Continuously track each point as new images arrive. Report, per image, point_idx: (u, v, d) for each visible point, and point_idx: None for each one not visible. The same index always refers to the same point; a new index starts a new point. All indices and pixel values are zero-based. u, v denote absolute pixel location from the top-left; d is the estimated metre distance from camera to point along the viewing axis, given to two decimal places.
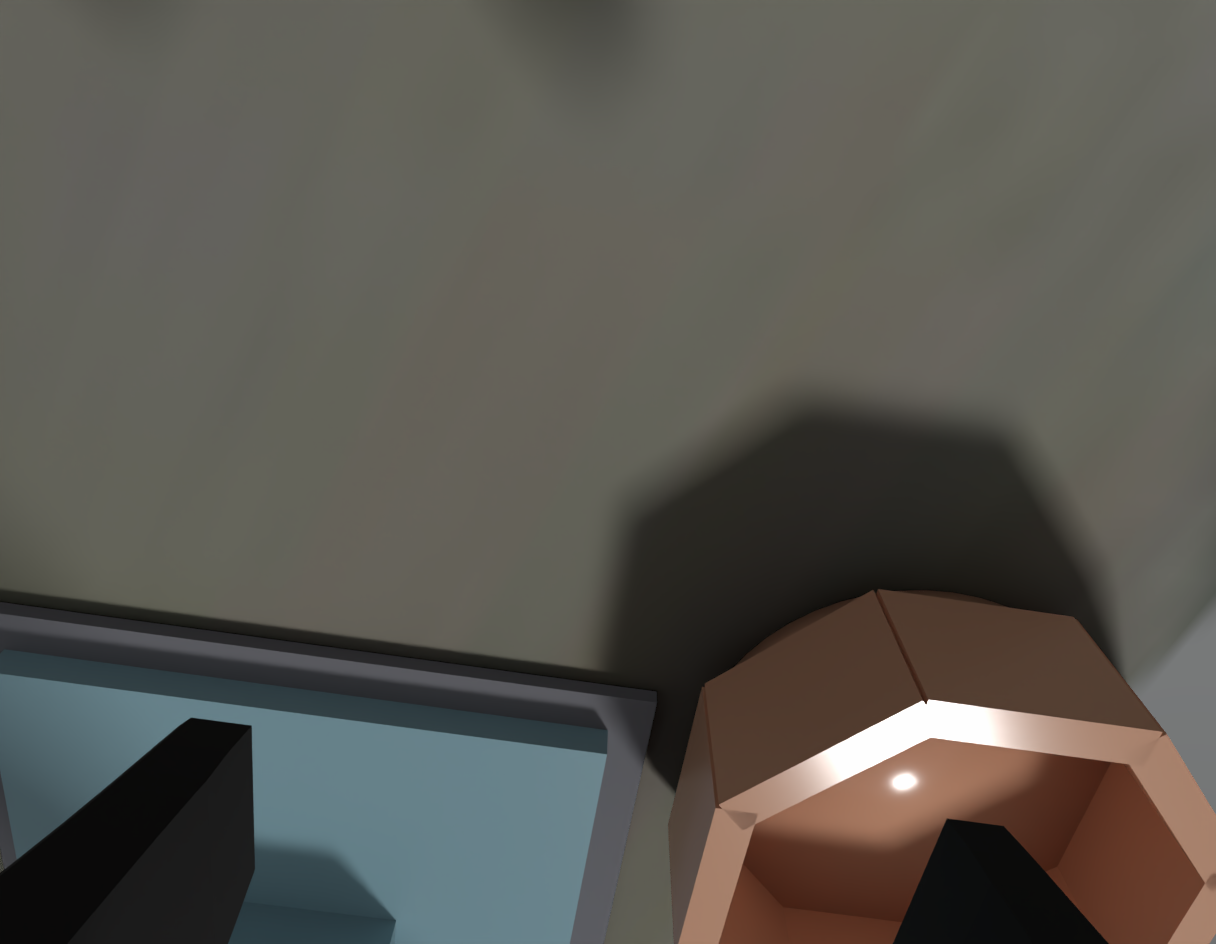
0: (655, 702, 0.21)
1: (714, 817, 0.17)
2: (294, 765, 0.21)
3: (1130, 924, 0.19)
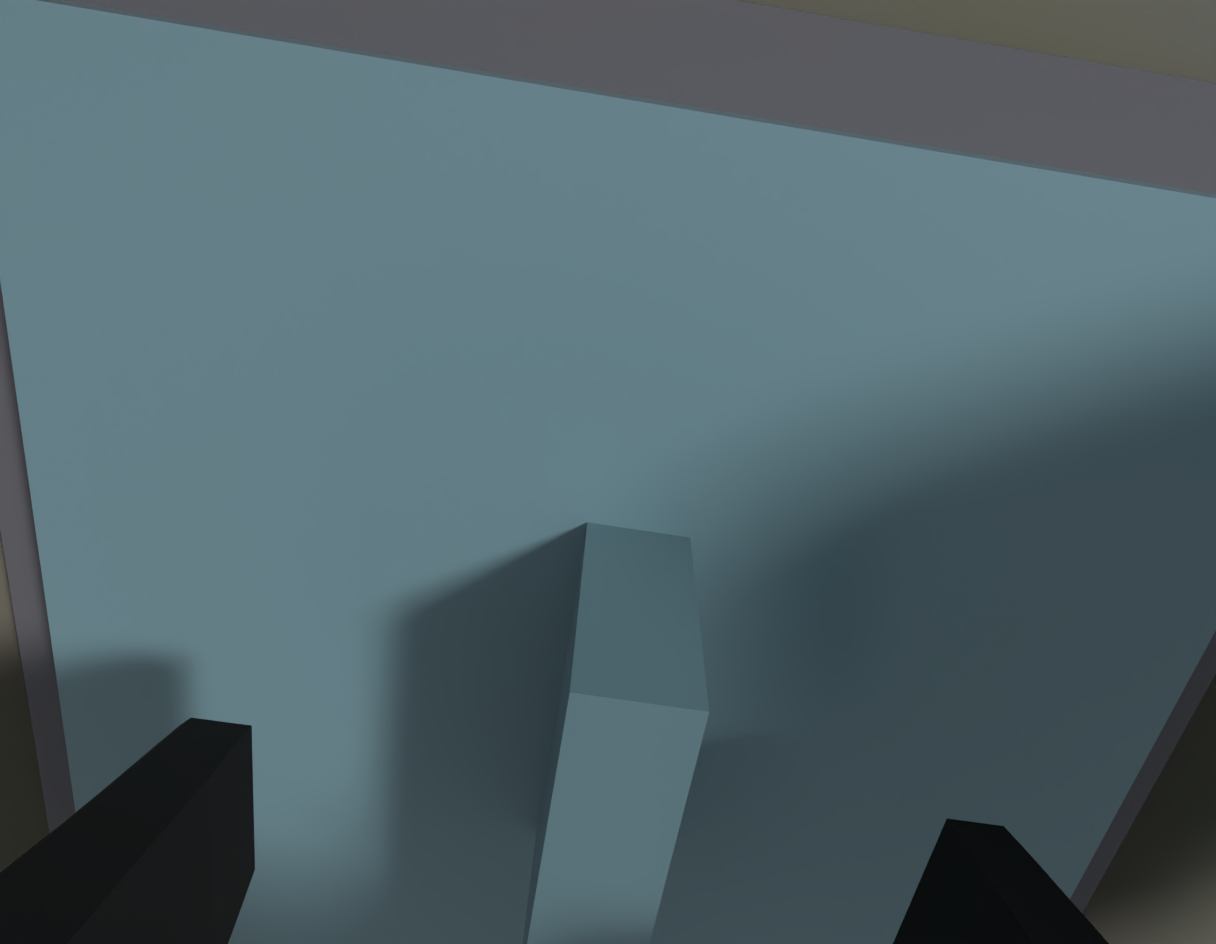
0: None
1: None
2: (178, 645, 0.11)
3: None
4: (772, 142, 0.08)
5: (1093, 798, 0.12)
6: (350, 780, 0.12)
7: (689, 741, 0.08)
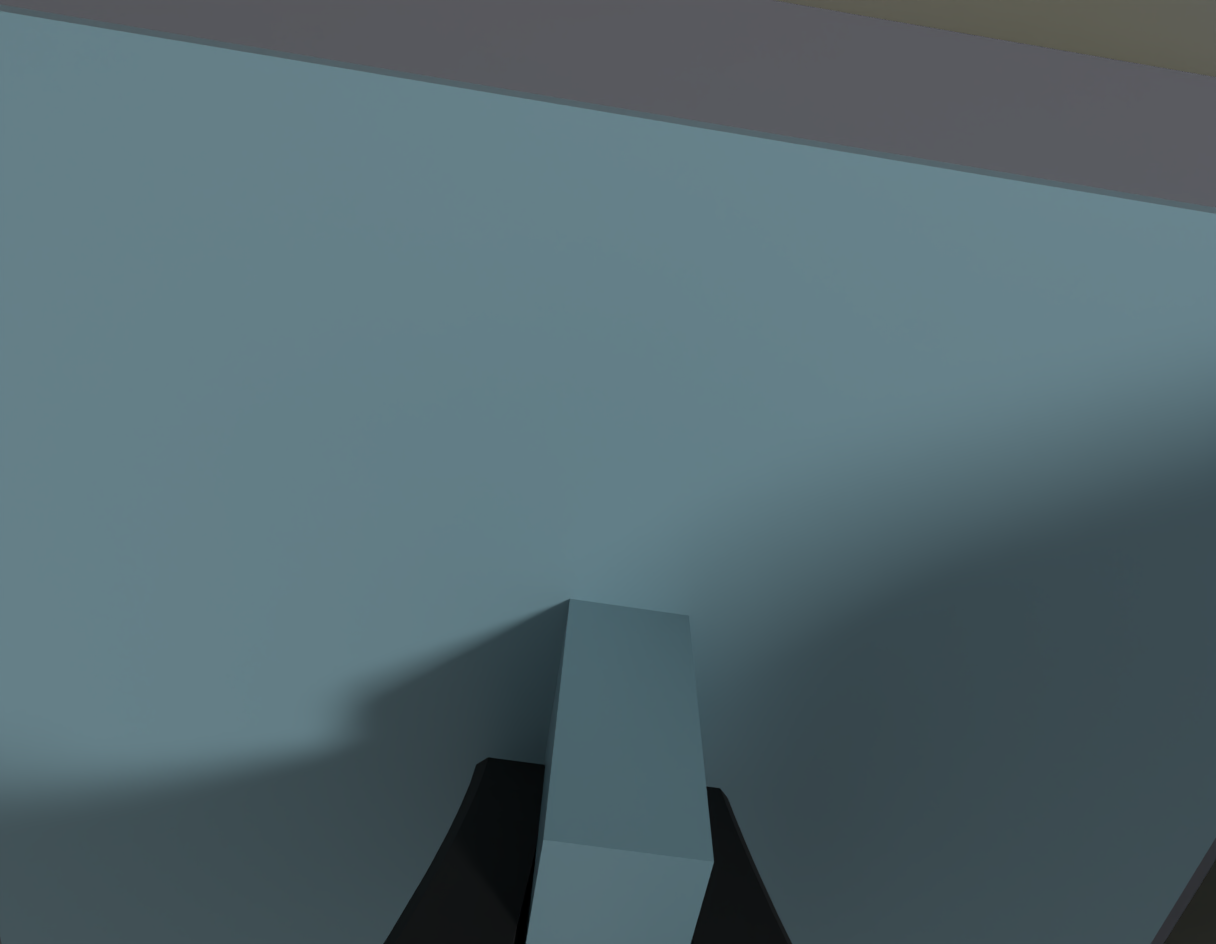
0: None
1: None
2: (103, 734, 0.10)
3: None
4: (786, 164, 0.07)
5: (1144, 897, 0.10)
6: (304, 879, 0.11)
7: (690, 895, 0.06)
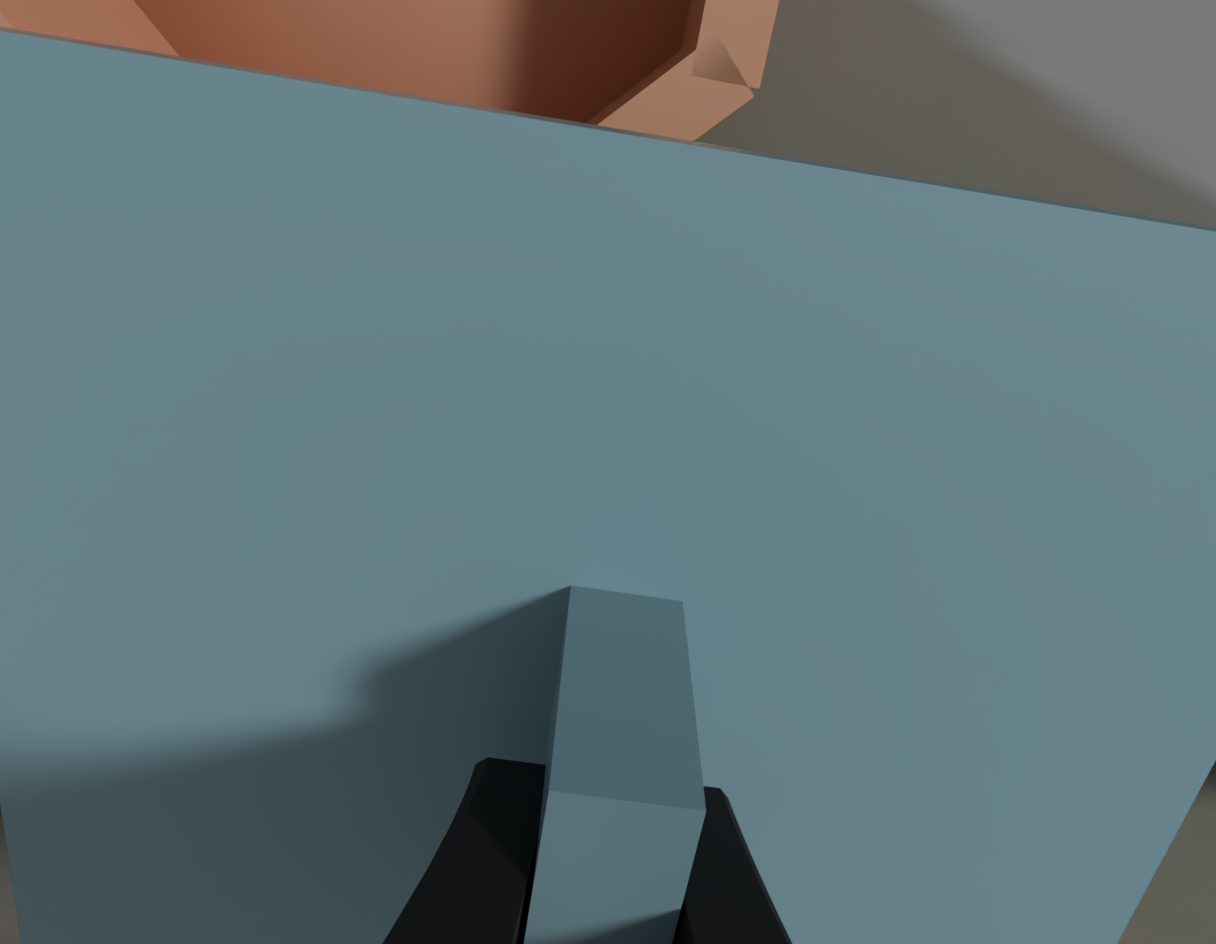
0: None
1: None
2: (126, 719, 0.10)
3: None
4: (768, 177, 0.08)
5: (1119, 876, 0.11)
6: (315, 863, 0.11)
7: (685, 844, 0.07)
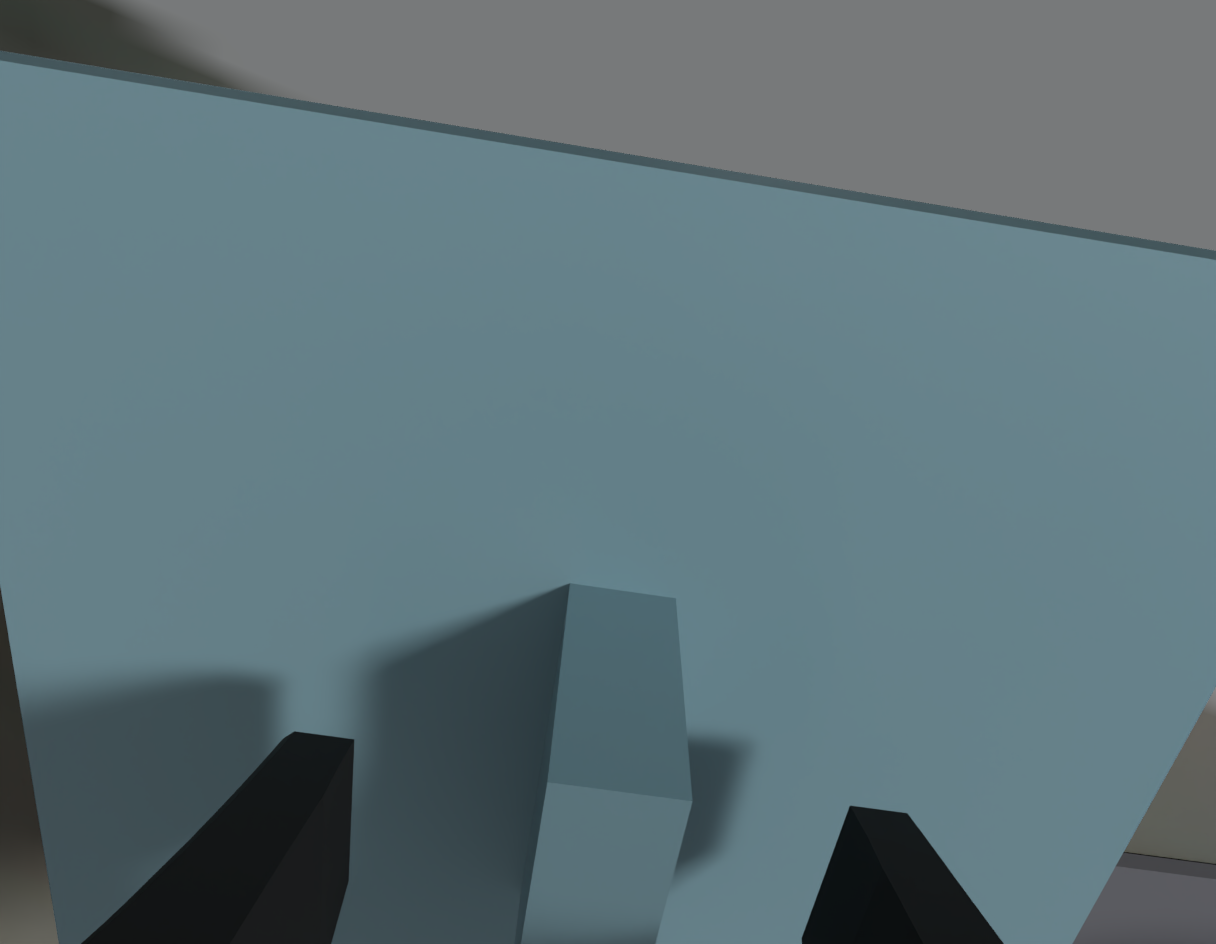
0: None
1: None
2: (150, 706, 0.11)
3: None
4: (757, 203, 0.08)
5: (1089, 855, 0.12)
6: None
7: (672, 830, 0.07)
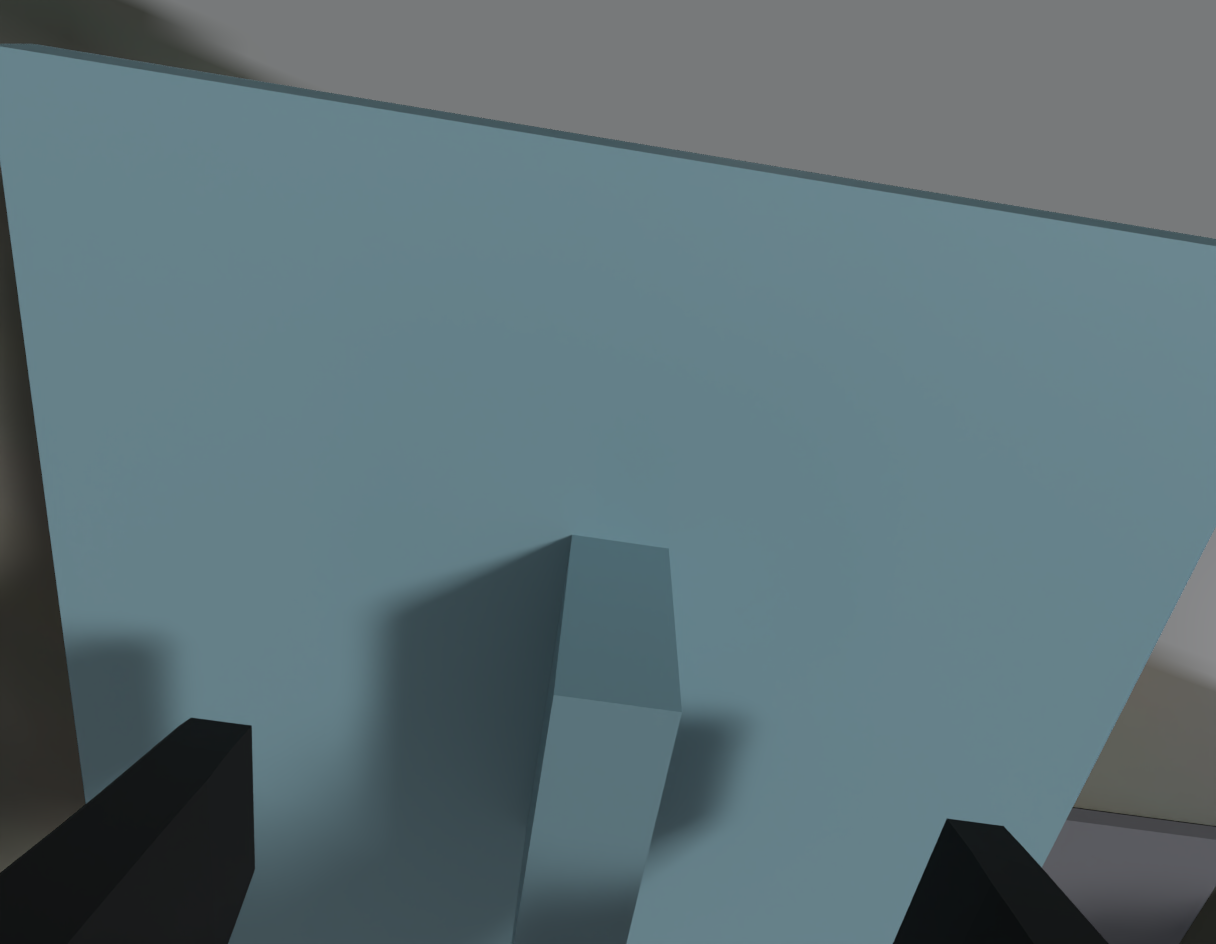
0: None
1: None
2: (186, 651, 0.12)
3: None
4: (740, 184, 0.09)
5: (1051, 791, 0.13)
6: (349, 778, 0.13)
7: (665, 740, 0.08)
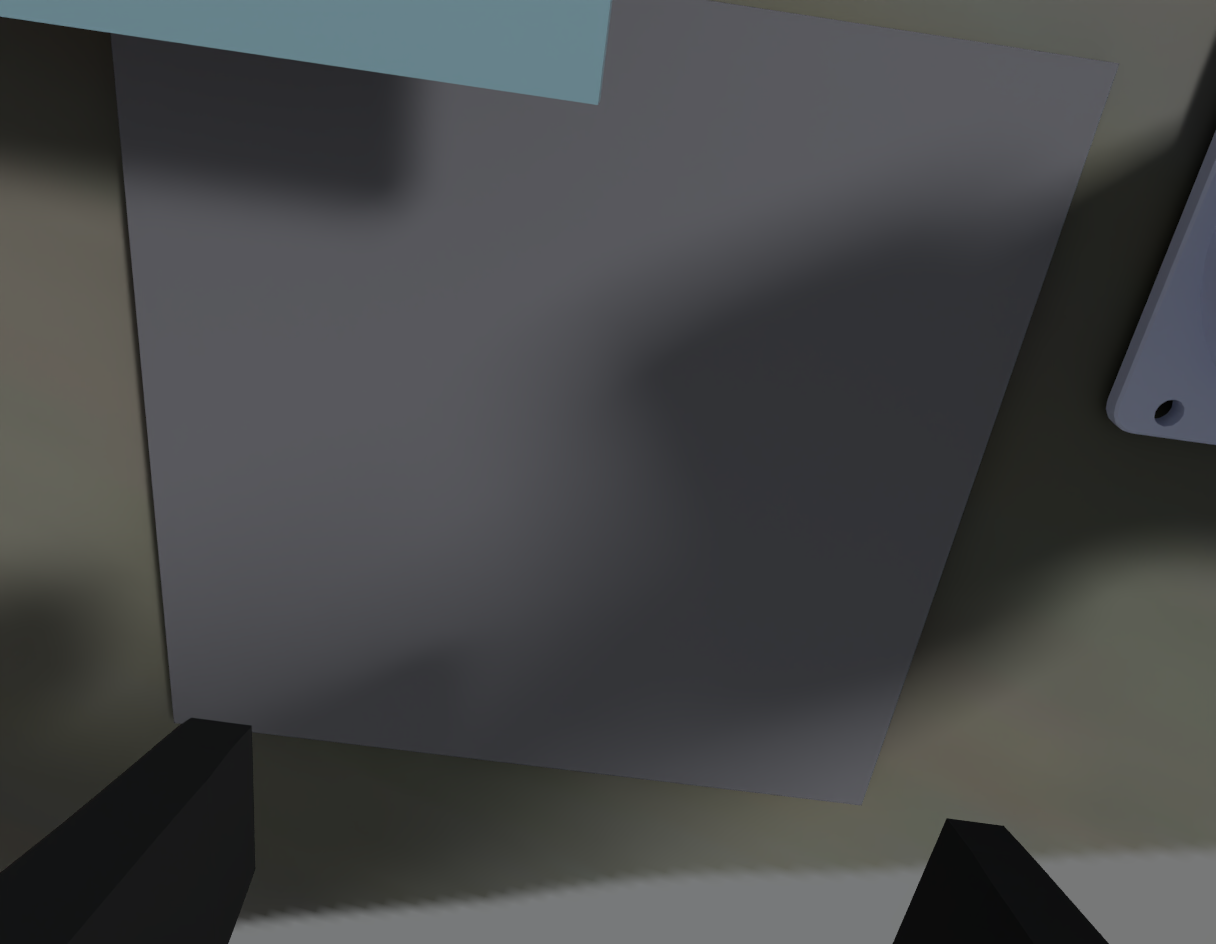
0: None
1: None
2: None
3: None
4: None
5: None
6: None
7: None
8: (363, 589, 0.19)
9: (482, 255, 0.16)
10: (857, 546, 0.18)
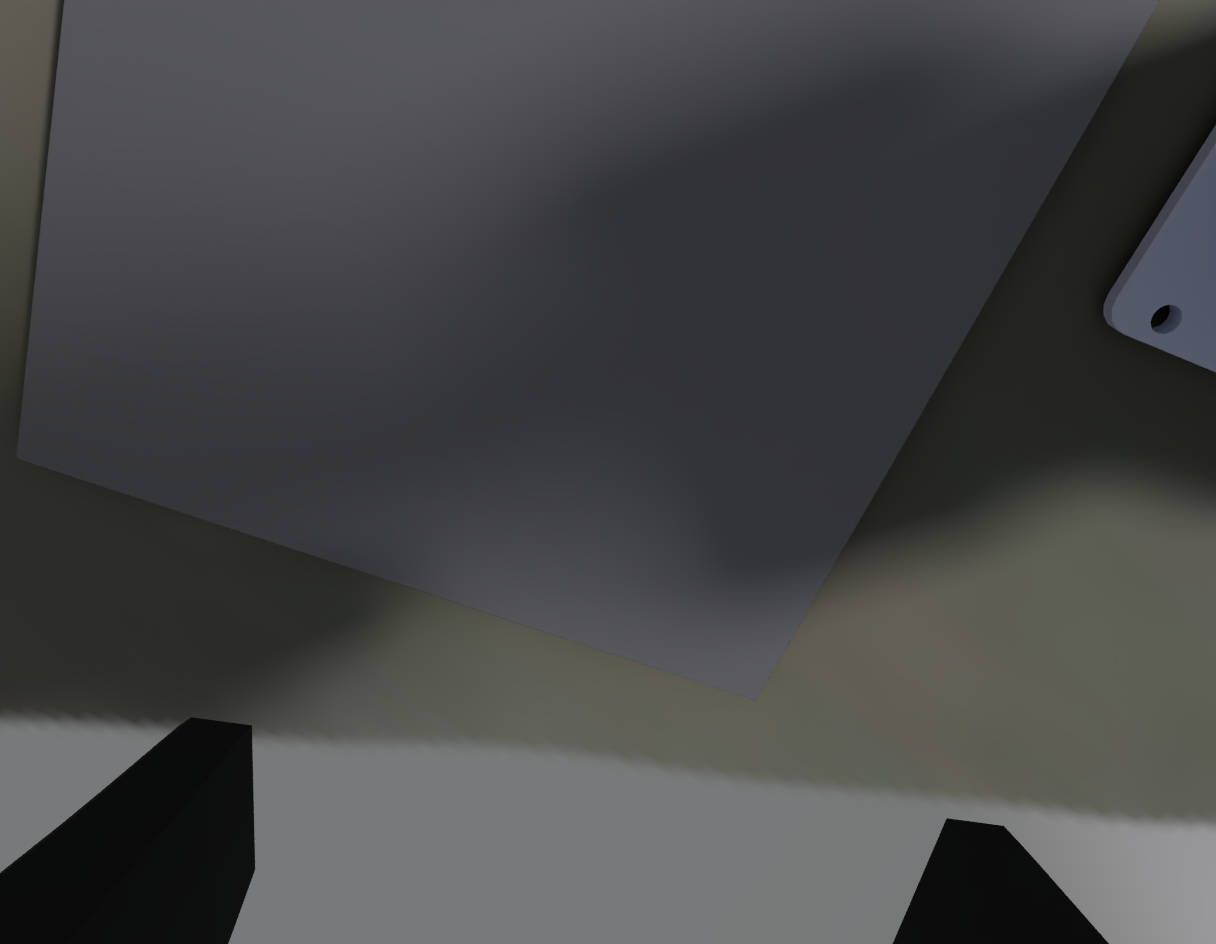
0: None
1: None
2: None
3: None
4: None
5: None
6: None
7: None
8: (271, 339, 0.16)
9: None
10: (819, 404, 0.17)
